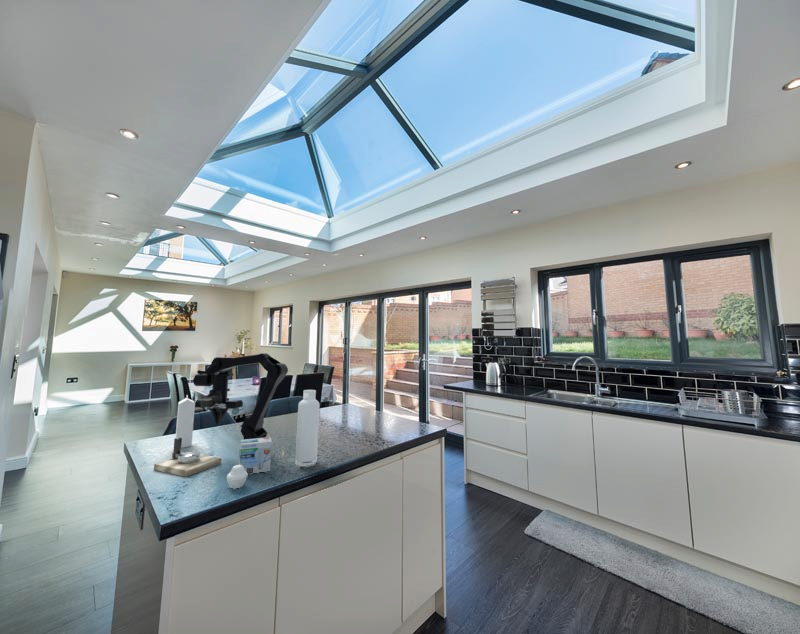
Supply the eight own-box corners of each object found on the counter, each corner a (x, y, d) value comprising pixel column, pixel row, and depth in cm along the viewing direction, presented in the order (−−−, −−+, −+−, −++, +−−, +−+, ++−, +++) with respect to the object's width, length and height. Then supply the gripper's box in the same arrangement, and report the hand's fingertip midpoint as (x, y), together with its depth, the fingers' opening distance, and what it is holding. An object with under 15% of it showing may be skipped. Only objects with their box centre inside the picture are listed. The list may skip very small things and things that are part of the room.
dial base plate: (220, 463, 125) (221, 457, 125) (186, 476, 111) (186, 470, 112) (189, 457, 130) (189, 452, 130) (152, 469, 117) (153, 463, 117)
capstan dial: (204, 458, 123) (205, 439, 123) (185, 464, 116) (187, 444, 117) (183, 454, 127) (185, 435, 128) (164, 459, 121) (166, 440, 121)
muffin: (244, 490, 102) (245, 467, 102) (222, 492, 101) (224, 468, 101) (249, 482, 108) (250, 460, 108) (229, 483, 107) (230, 461, 107)
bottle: (321, 462, 128) (324, 390, 131) (307, 469, 121) (311, 392, 123) (305, 459, 131) (308, 388, 134) (290, 465, 124) (294, 390, 127)
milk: (175, 448, 141) (179, 396, 142) (174, 445, 145) (178, 394, 147) (192, 446, 144) (195, 395, 146) (190, 442, 149) (194, 393, 151)
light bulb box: (238, 476, 113) (240, 444, 114) (237, 469, 119) (239, 439, 120) (271, 471, 118) (272, 441, 119) (269, 465, 123) (270, 436, 124)
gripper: (185, 388, 132) (182, 427, 130) (226, 389, 129) (224, 430, 127) (206, 385, 143) (203, 421, 141) (244, 386, 139) (242, 423, 138)
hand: (217, 424), depth 137 cm, fingers closed
